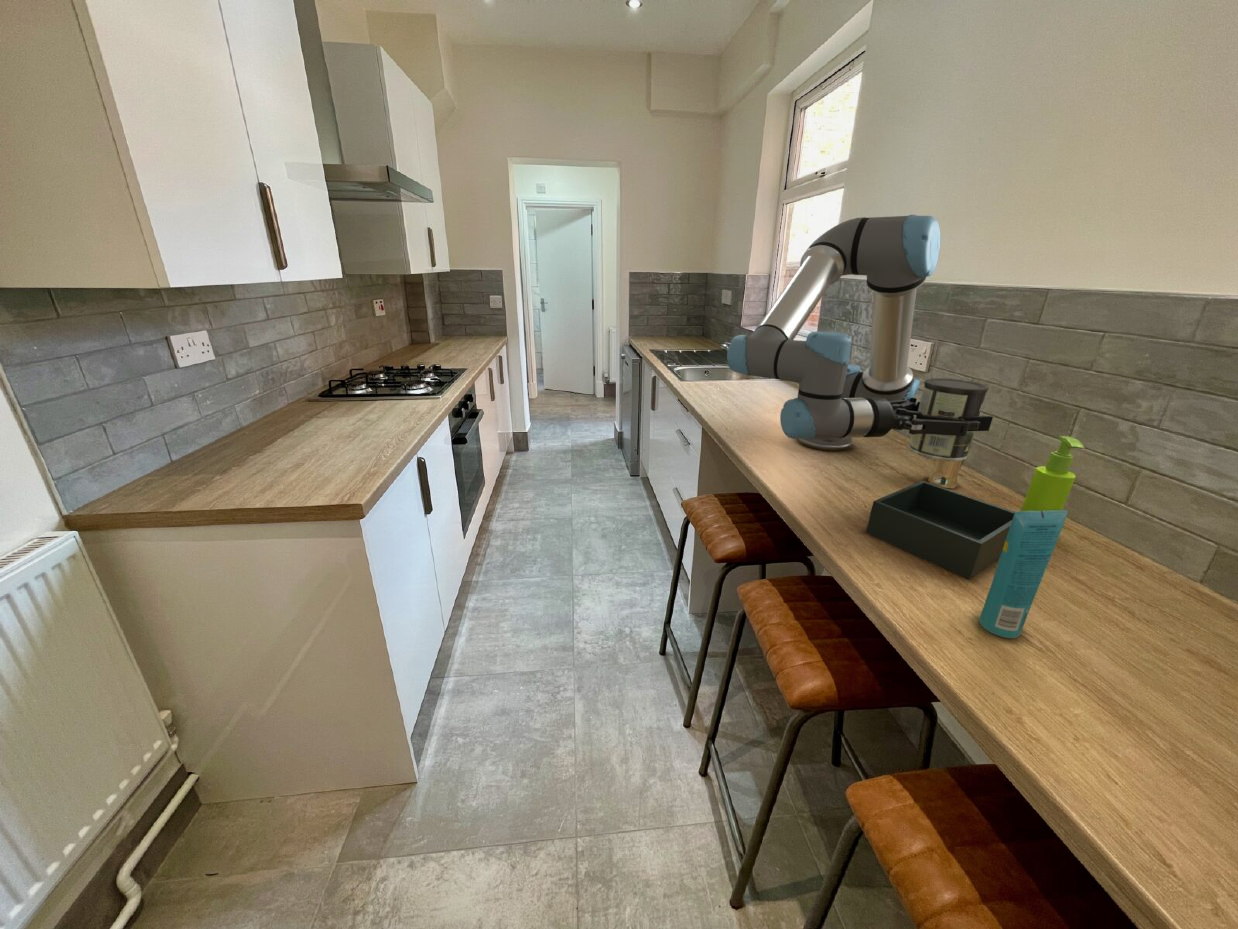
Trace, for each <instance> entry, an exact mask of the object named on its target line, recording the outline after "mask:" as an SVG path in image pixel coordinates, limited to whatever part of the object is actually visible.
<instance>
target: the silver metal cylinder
mask: <svg viewBox="0 0 1238 929" xmlns="http://www.w3.org/2000/svg"><path fill="white" fill-rule="evenodd" d="M975 432H976V431H974V434H973V437H972V441H971V444H970V448H969V451H968V454H969V453H970V450H971V448H972V445H973V441H974V436H975ZM968 454H967V456H968ZM964 462H965V460H963V461H942V460H936V459H933V467H932V470H931V471H930V474H929V476H928V478H927V482H928V483H930V484H933V485H936V486H939V487H942V488H945V489H955V488H956V487H957V485H958V476H959V472H960V470H961V468H962V466H963V464H964Z"/></svg>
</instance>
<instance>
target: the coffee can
mask: <svg viewBox="0 0 1238 929" xmlns="http://www.w3.org/2000/svg"><path fill="white" fill-rule="evenodd" d="M923 385H924V386H923V390H922V394H921V398H920V400H919V402H920V405H919V409H918V411H919V412H921V413H922V414H923V415H931V416H941V417H950V418H958V417H961V416H980V414H981V411H982V408H983V405H984V401H985V398H986V395H987V392H988V391H989V386H987V385H986V384H982V383H979V382H974V381H970V380H965V379H957V378H956V379H955V378H938V377H935V378H934V377H933V378H926V379H925V380H924V382H923ZM973 434H974V435H975V432H974V431H967V433H966V436H960V437H957V436H953V435H936V434H911V436H910V442H909V445H908V447H907V448H908V450H909V451H910V452H912V453H913V454H915V455H918V456H921V457H924V458H926V459H927V458H928V459H931V460H934V459H936V460H942V461H963V460H964V461H965V460H967V459H968V455H967V454H969V453H968V451H969V448H970V444H971V441H972V437H973ZM973 438H974V437H973ZM972 442H973V441H972ZM970 449H971V448H970ZM969 452H970V451H969Z"/></svg>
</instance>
